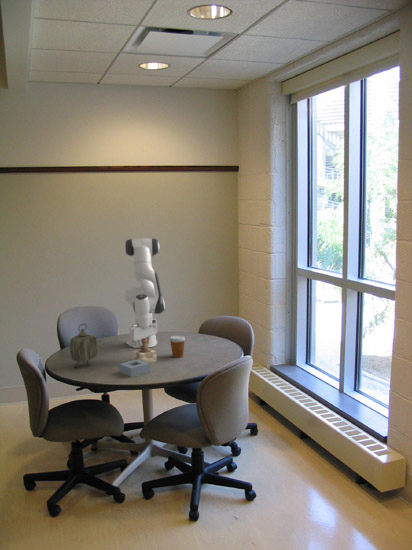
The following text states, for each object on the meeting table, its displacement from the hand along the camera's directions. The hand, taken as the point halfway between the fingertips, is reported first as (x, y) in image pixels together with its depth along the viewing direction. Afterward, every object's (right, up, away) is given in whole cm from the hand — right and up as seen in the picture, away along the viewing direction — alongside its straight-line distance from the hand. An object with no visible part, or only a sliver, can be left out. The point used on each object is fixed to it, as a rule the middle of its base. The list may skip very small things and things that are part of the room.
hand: (144, 344), depth 335 cm
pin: (0, -9, +1) cm, 9 cm away
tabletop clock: (-34, -12, -4) cm, 36 cm away
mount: (0, -10, +1) cm, 10 cm away
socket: (-3, -13, -20) cm, 24 cm away
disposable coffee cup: (+20, -8, +9) cm, 23 cm away
